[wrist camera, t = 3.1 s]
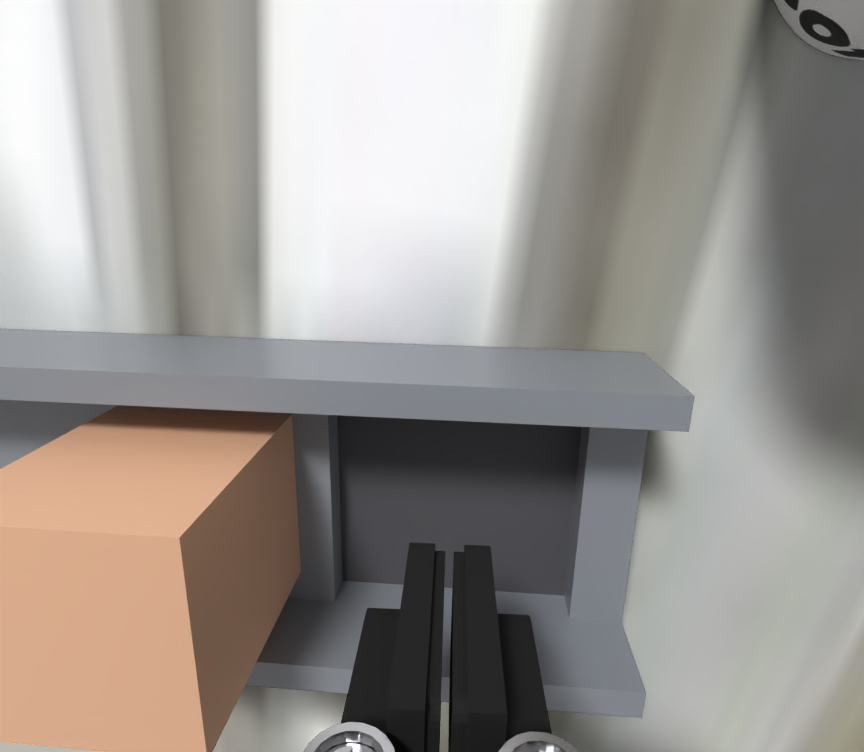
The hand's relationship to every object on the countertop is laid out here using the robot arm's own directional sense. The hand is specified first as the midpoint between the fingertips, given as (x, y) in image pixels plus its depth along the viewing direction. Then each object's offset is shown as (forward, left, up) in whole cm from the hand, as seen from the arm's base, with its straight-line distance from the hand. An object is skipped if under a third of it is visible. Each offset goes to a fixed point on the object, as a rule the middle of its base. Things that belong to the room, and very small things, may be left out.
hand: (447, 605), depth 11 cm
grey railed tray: (+5, 0, -6) cm, 7 cm away
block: (+7, 0, -4) cm, 8 cm away
